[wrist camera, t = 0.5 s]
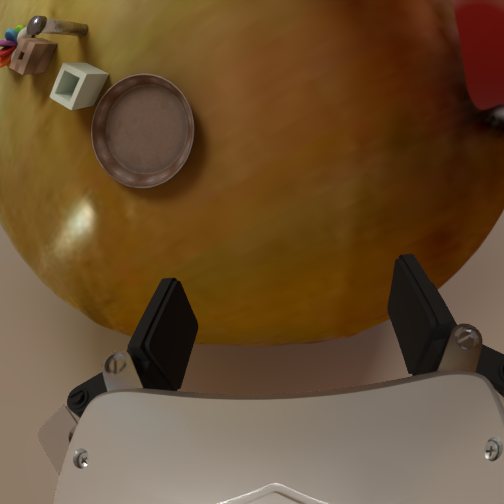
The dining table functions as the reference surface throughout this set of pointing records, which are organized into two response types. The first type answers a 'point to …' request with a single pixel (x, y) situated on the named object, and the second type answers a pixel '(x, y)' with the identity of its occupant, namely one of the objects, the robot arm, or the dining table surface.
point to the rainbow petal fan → (11, 44)
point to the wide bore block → (78, 85)
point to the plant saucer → (142, 130)
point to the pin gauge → (55, 27)
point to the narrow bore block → (32, 55)
